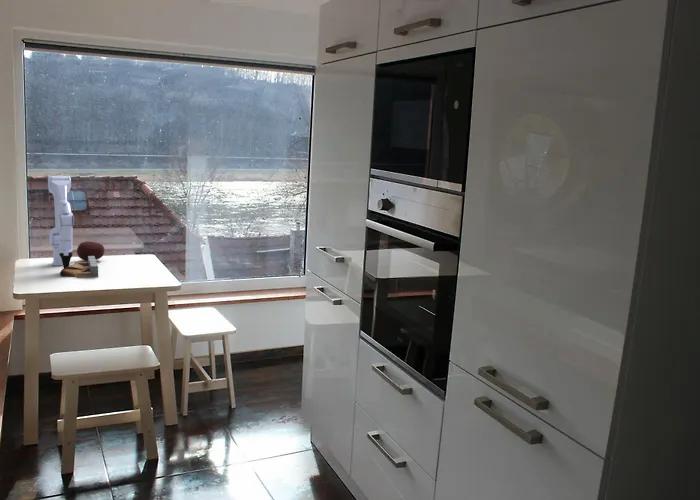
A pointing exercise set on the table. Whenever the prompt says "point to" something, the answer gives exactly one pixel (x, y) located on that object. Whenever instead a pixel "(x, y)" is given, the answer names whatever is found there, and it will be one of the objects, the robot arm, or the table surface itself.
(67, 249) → the robot arm
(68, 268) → the sunglasses case
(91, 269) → the dock
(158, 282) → the table surface
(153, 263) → the table surface
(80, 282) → the table surface
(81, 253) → the potato
